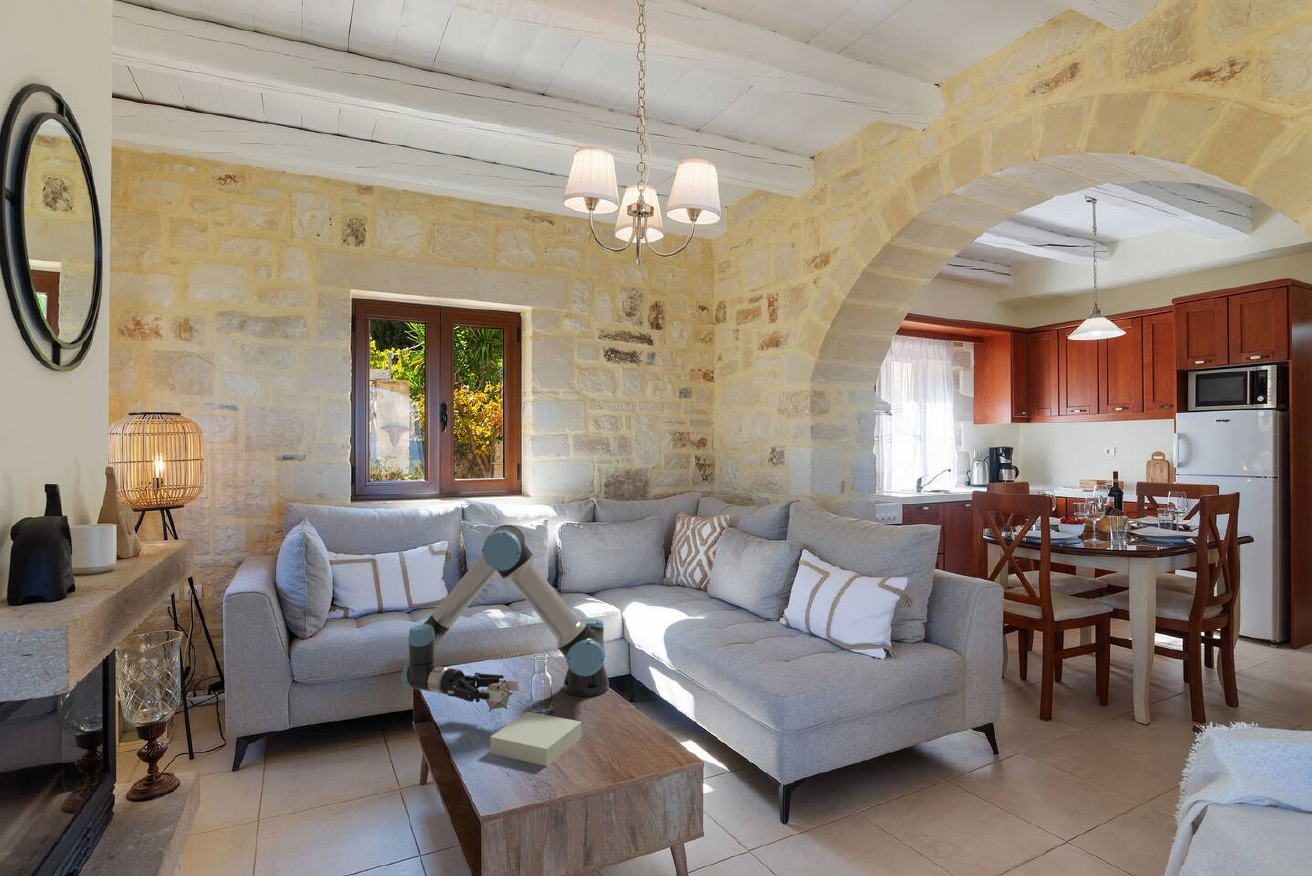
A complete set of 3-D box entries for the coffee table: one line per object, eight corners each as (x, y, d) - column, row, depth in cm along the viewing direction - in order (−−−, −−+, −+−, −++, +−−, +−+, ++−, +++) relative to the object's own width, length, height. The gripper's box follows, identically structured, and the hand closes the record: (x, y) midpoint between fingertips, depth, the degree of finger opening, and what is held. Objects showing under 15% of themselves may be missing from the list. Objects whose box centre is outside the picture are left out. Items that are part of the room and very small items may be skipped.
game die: (501, 723, 205) (503, 704, 200) (475, 711, 207) (477, 692, 201) (516, 698, 213) (518, 679, 207) (491, 687, 214) (493, 668, 208)
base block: (528, 728, 206) (528, 711, 205) (581, 739, 198) (581, 721, 198) (490, 755, 189) (490, 736, 189) (547, 768, 182) (547, 749, 182)
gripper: (469, 681, 223) (529, 691, 214) (423, 706, 204) (486, 718, 195) (469, 658, 223) (529, 667, 214) (422, 680, 204) (486, 692, 195)
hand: (508, 691), depth 204 cm, fingers closed on game die, 8 cm apart
